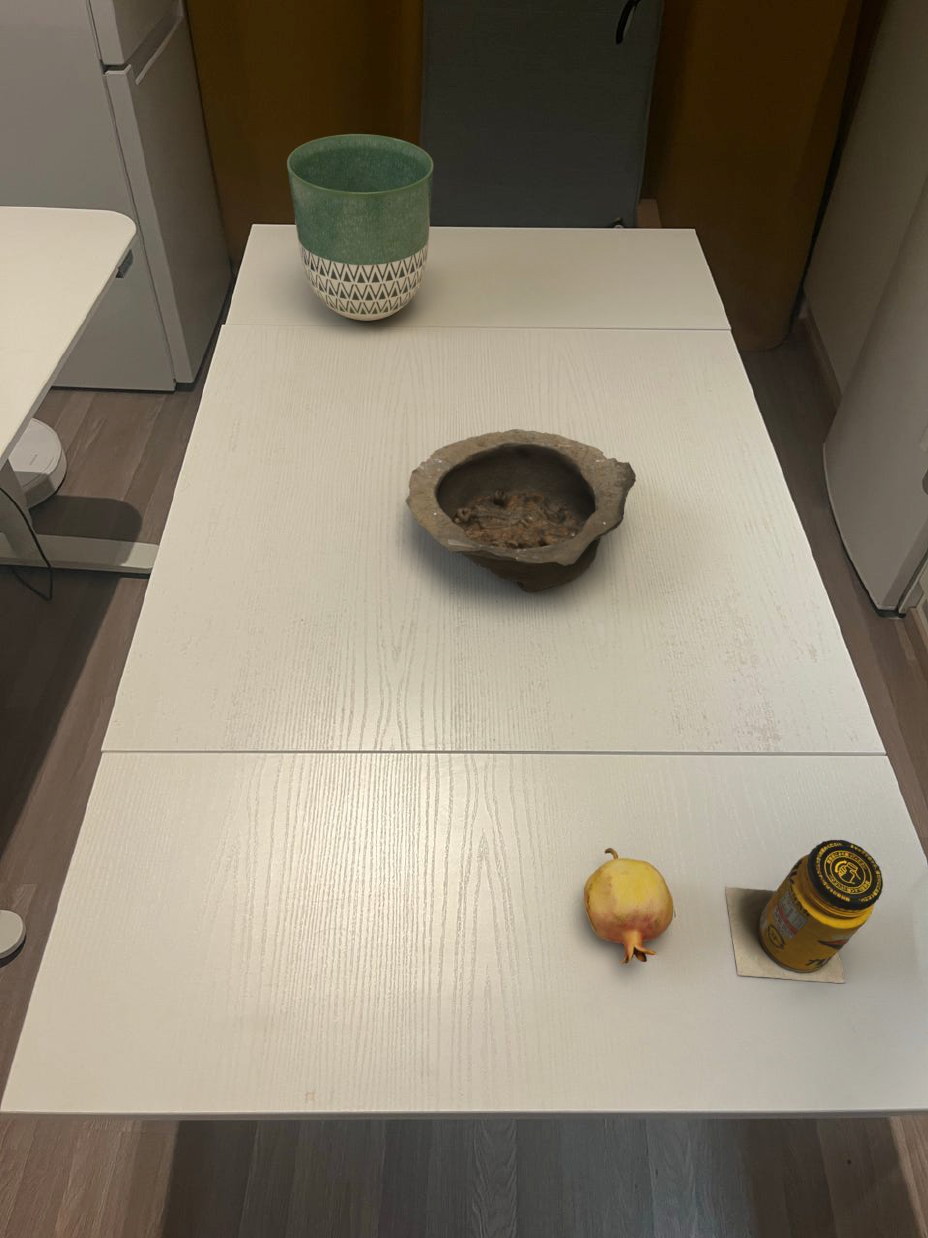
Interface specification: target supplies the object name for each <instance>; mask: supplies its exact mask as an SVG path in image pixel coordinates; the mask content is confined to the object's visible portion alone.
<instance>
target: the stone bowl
mask: <svg viewBox="0 0 928 1238" xmlns="http://www.w3.org/2000/svg"><path fill="white" fill-rule="evenodd" d="M636 477H637V475H636V473H635V471H634V469H633V467H632V465H631V463H630V461H629V462H628V461H627V462H625V461H624V462H622V461H619V460H618V459H617V458H615V457H611V458H607V457H606V456H605V454H604V451H602V450H601V449H599V448H598V447H595V446H592V445H588V444H585V443H583V442H580V441H578V440H574V439H570V438H568V437H566V436H562V435H560V434H556V433H550V432H547V431H546V432H541V431H536V430H524V429H521V428H520V429H518V428H515V429H509V430H505V431H503V432H502V431H496V432H487V433H484V434H480V435H475V436H470V437H467V438H466V439H463V440H458V441H455V442H452V443H450V444H447V445H444V446H442V447H440V448H438V449H436V450H434V452H433V453H432V454H430V455H429V458H427V459H426V461H421V462H420V463H419V466H417V467H416V468H415V469H413V470H412V471H411V474H410V477H409V480H408V488H409V493H408V496H407V498H406V499H405V503H406V506H407V507H408V509H409V511H410V512H411V513H412V515H413V516H414V518H415V520H416V521H417V523H418V524H419V526H420V527H421V528H422V529H424V530H426V531H428V533H429V534H430V535H431V536H432V537H433V538H434V539H435V540H436V541H437V542H438V543H439V545H441V546H443V547H445V548H446V549H447V551H448V552H449V553H455V554H456V553H457V554H462V555H463V556H464V557H465V558H467V559H468V560H470V561H472V562H473V563H474V564H475V565H477V566H480V567H481V568H483V569H487V570H489V571H490V572H491V573H493V574H495V575H496V576H497V577H499V578H501V579H503V580H506V581H513V582H515V583H516V584H517V586H518V587H519V588H520V589H521V590H522V591H523V592H536V591H539V590H542V589H545V588H551V587H554V586H557V585H561V584H564V583H569V582H570V581H573V579H575V577H577V575H579V574H582V573H584V572H585V571H586V570H587V569H589V568H590V567H591V565H592V563H594V561H595V559H596V557H597V553H598V550H599V546H600V543H601V539H602V537H603V536H607V535H608V534H609V533H612V532H613V531H615V530H616V529H617V528H618V527H619V526H620V525H621V524H622V522H623V520H624V515H625V506H626V502H627V497H628V495H629V492H630V491H631V489H632V488H633V487H634V485H635V483H636V481H637V480H636Z"/></svg>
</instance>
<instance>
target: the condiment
mask: <svg viewBox="0 0 928 1238" xmlns="http://www.w3.org/2000/svg"><path fill="white" fill-rule="evenodd" d="M883 888H884V879H883V874H882V871H881V868H880V865H878V864H877V861H876V860H875V859H874V858H873V856H872V855H871V854H870V853H868V852H867V851H866V849H865V850H864V848H863V847H861V846H860V845H857V844H855V843H853V842H850V841H848V840H845V839H828V840H826V841H825V840H824V841H822V842H821V843H818V844H816V845H815V847H813V848H812V849H811V851H810V852H809V853H808V854H806V855H804V856H802V857H800V858H798V860H797V862H796V863H794V865H793V866H792V867H791V869H790V871H789V872H788V873H787V875H786V876H785V878H784V879H783V881H782V882H781V884H780V885H779V886H778V887H777V889H776V890H771V889H770V890H769V889H756V888H755V889H754V888H743V887H736V886H735V887H732V886H725V894H726V902H727V911H728V919H729V926H730V931H731V940H732V945H733V952H734V958H735V959H734V960H735V963H736V965H735V966H736V971H737V975H738V976H742V977H743V976H744V977H756V978H757V977H758V978H760V977H761V978H772V979H786V980H793V981H806V982H807V981H808V982H810V981H811V982H818V983H819V982H820V983H821V982H822V983H836V984H837V983H838V984H845V983H846V979H845V975H844V974H845V973H844V970H843V966H842V961H841V959H840V954H839V951H840V950H842V948H843V947H844V946H845V945H846V944H847V943H848V942H849V941H850V939H851V938H852V937H853V936H854V935H855V934H856V932H858V931H859V930H860V929H861V927H863V926H864V925H865V924H866V922H867V921H868V920H869V918H870V917H871V915H872V913H873V911H874V907H875V904H876V902H877V901H878V900H879V898H880V897H881V895H882V893H883Z"/></svg>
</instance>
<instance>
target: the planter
mask: <svg viewBox="0 0 928 1238" xmlns="http://www.w3.org/2000/svg"><path fill="white" fill-rule="evenodd" d="M286 166H287V175H288V176H287V177H288V184H289V190H290V196H291V201H292V208H293V215H294V222H295V229H296V235H297V241H298V247H299V248H298V249H299V254H300V259H301V264H302V268H303V270H304V273H305V277H306V278H307V281H308V283H309V285H310V288H311V289H312V291H313V292H314V294H315V295H316V296H317V298H318V299H319V300H320V301H321V302H322V303H323V304H324V305H326V307H328V308H329V309H331V310H332V311H334V312H335V313H337V314H339V315H340V316H341V317H345V318H347V319H351V320H355V321H364V322H365V321H366V322H369V321H371V322H372V321H377V320H382V319H386V318H388V317H390V316H392V315H394V314H396V313H397V312H399V311H400V310H402V308H404V307H405V306H406V305H407V304H408V303H409V302H410V301H412V298H414V296H415V295H416V293H417V292H418V290H419V288H420V286H421V284H422V280H423V277H424V274H425V271H426V267H427V259H428V250H429V239H430V226H431V214H432V213H431V211H432V198H433V187H434V167H435V166H434V161H433V158H432V157H431V156H430V154H429V153H428V152H427V151H425V149H423V148H422V147H420V146H418V145H415V144H414V143H411V142H408V141H406V140H403V139H399V138H395V137H392V136H385V135H377V134H368V133H367V134H366V133H365V134H364V133H349V134H337V135H330V136H325V137H320V138H316V139H314V140H310V141H308V142H305V143H304V144H301V145H300V146H298V147H296V148H295V149H294V150H293V151H292V152H291V153H290V154H289V155H288V157H287V160H286Z"/></svg>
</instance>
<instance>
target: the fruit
mask: <svg viewBox="0 0 928 1238" xmlns="http://www.w3.org/2000/svg"><path fill="white" fill-rule="evenodd" d="M606 854H611V855H612V857H613V858H612V859H610V860H608V861H606V862H605V863H603V864H602V865H600V866H599V867H598V868H597V869H596V870H595V871H594V872H593V873H592V874H591V875H590V876H589V877H588V878H587V880H586V882H585V884H584V887H583V904H584V909H585V913H586V916H587V918H588V921H589V924H590V926H591V929H592V931H593V932H594V933H595V935H596V936H597V937H598V938H600V939H601V940H603V941H606V942H607V941H608V942H611V943H616V944H623V946H624V958H623V959H622V960H621V961H620V964H621V965H623V964H625V965H626V964H629V962H631V961H632V959H633V958H634V956H635V958H636V959H637V960H638V961H640V962H642V963H646V962H648V956H655V955H657V952H656V951H653V950H650V949H648V948H645V947H644V945H643V944H644V943H643V942H648V941H651V940H654V939H655V938H657V937H659V936H660V935H662V934H663V933H664V932H665V931H667V929H668V928H669V926H670V925H671V923H672V921H673V917H674V900H673V896H672V893H671V892H670V890H669V887H668V885H667V882H666V879H665V878H664V876H663V875H662V874H661V872H660V871H659V870H658V869H657V868H656V867H655V866H654V865H652V864H651V863H650V862H648V861H644V860H639V859H632V858H625V857H623V858H622V857H619V855H618V852H617V851H616V850H615V849H614V848H611V847H608V848H606V849H605V850H604V855H606ZM647 955H648V956H647Z"/></svg>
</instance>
